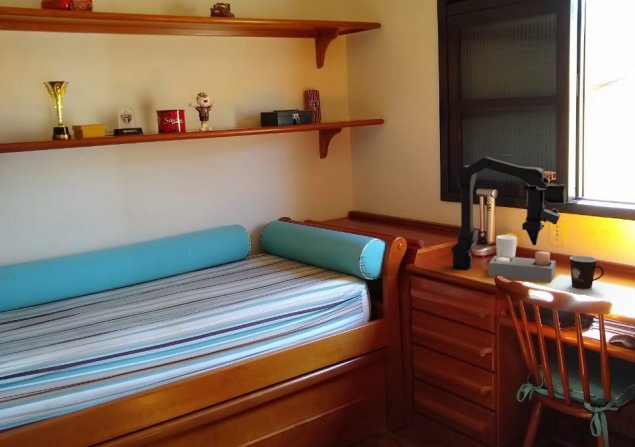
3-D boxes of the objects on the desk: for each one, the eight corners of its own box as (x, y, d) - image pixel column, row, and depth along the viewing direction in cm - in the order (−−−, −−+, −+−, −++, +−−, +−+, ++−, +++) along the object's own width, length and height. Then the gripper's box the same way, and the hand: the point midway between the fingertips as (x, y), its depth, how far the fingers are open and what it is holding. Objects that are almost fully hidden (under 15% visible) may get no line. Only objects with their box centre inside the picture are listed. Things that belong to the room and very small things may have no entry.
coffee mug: (563, 283, 225) (565, 256, 223) (587, 282, 226) (589, 255, 224) (580, 293, 214) (581, 264, 212) (604, 292, 215) (606, 263, 213)
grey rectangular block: (488, 275, 237) (488, 262, 236) (494, 267, 248) (495, 255, 247) (551, 282, 227) (551, 268, 226) (554, 273, 238) (555, 260, 237)
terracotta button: (534, 265, 232) (534, 253, 232) (535, 262, 237) (536, 250, 236) (548, 266, 230) (549, 255, 229) (550, 263, 235) (550, 252, 234)
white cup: (515, 259, 260) (516, 235, 258) (516, 264, 253) (517, 239, 251) (495, 258, 262) (495, 234, 260) (495, 263, 254) (496, 238, 252)
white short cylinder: (494, 271, 239) (494, 259, 238) (497, 268, 244) (497, 256, 243) (508, 272, 237) (508, 261, 236) (510, 269, 241) (511, 258, 241)
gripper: (556, 207, 219) (554, 252, 222) (561, 199, 235) (560, 241, 238) (522, 206, 224) (521, 250, 227) (530, 198, 240) (529, 239, 243)
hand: (534, 245), depth 233 cm, fingers closed
